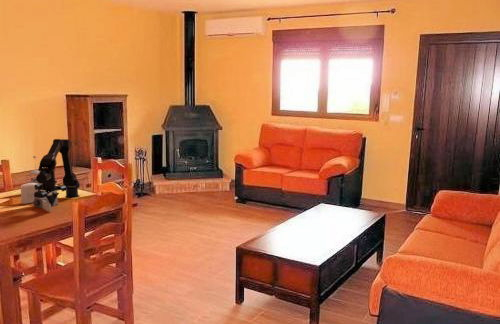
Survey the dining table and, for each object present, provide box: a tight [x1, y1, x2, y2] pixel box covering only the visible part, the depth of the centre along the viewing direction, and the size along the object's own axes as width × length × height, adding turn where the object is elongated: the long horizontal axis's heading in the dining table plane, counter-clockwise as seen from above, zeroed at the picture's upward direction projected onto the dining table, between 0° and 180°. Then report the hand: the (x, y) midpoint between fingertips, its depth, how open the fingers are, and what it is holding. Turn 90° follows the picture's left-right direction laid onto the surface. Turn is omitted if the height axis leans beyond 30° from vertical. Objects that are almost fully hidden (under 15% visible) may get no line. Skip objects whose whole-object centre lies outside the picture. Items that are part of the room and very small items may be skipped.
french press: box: [25, 155, 43, 191], centre depth 289 cm, size 10×12×25 cm
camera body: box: [32, 196, 59, 210], centre depth 259 cm, size 12×8×6 cm
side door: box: [42, 200, 52, 213], centre depth 250 cm, size 10×2×5 cm, turn 47°
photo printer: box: [20, 182, 38, 205], centre depth 265 cm, size 10×4×12 cm, turn 123°
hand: (51, 205), depth 249 cm, fingers closed
